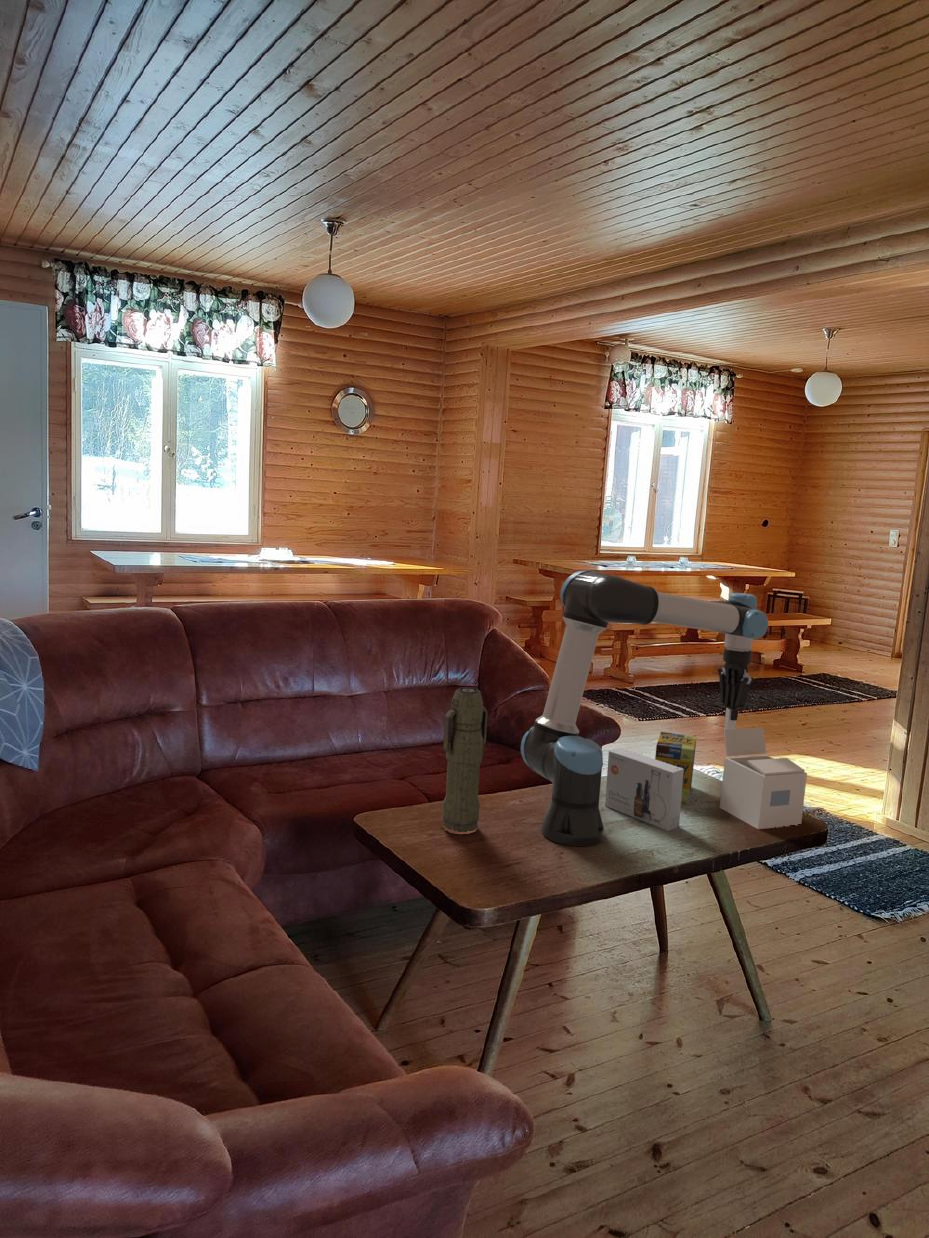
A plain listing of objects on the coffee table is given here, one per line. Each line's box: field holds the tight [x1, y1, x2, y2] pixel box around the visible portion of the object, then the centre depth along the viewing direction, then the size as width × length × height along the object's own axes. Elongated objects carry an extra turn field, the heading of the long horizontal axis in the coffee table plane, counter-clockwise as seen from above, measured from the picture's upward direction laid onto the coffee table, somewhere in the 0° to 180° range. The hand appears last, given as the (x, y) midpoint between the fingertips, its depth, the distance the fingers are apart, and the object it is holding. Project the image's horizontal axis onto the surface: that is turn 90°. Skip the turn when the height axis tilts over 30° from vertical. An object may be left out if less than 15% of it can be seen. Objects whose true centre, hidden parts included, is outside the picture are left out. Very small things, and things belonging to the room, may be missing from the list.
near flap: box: [747, 757, 806, 775], centre depth 235 cm, size 13×7×1 cm, turn 111°
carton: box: [719, 754, 808, 830], centre depth 240 cm, size 14×16×14 cm
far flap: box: [722, 727, 767, 757], centre depth 247 cm, size 13×7×1 cm
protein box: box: [654, 731, 697, 804], centre depth 256 cm, size 10×15×16 cm
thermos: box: [442, 687, 489, 832], centre depth 218 cm, size 9×12×35 cm
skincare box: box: [604, 747, 684, 831], centre depth 235 cm, size 21×6×16 cm, turn 42°
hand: (729, 730), depth 253 cm, fingers closed
